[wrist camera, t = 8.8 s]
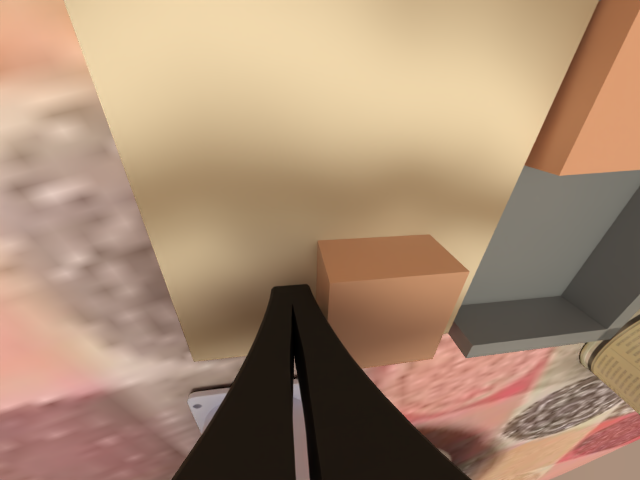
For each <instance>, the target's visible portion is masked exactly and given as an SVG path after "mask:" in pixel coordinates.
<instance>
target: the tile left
mask: <svg viewBox="0 0 640 480" xmlns="http://www.w3.org/2000/svg"><path fill="white" fill-rule="evenodd" d="M469 272H470V271H469V270H468V269H467V268H465V267H464V266H463V265H462V264H461V263H460V262H459V261H458V260H457V259H456V258H455V257H454V256H453V255H451V254H450V253H449V252H448V251H447V250H446V249H445V248H444V247H443V246H442V245H441V244H440V243H439V242H437V241H436V240H435V239H434V238H433V237H432V236H431V235H430V234H427V235H409V236H391V237H373V238H354V239H336V240H319V241H318V243H317V278H316V302H317V304H318V306H319V307H320V309H321V311H322V313H323V315H324V316H325V318H326V320H327V321H328V323H329V324H330V326H331V327H332V329H333V331H334V332H335V334H336V335H337V337H338V338H339V340H340V341H341V342H342V344H343V345H344V347H345V348H346V349H347V351H348V352H349V353H350V355H351V356H352V357H353V359H354V360H355V361H356V363H357V364H358V365H359V366H360V368H361V369H363V368H370V367H377V366H384V365H392V364H399V363H406V362H413V361H421V360H428V359H433V357H434V354H435V352H436V350H437V347H438V345H439V343H440V340H441V338H442V335H443V333H444V331H445V328H446V326H447V324H448V321H449V319H450V317H451V314H452V312H453V310H454V307H455V305H456V303H457V300H458V298H459V296H460V293H461V291H462V289H463V286H464V284H465V282H466V279H467V277H468V275H469Z"/></svg>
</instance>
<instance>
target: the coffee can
mask: <svg viewBox="0 0 640 480" xmlns="http://www.w3.org/2000/svg"><path fill="white" fill-rule="evenodd" d="M580 361H581V364H582V365H583V366H584V367H586V368H587V369H589V370H590V371H591V372H592V373H593V374H595V375H596V376H597V377H598V378H599V379H600V380H601V381H603V382H604V383H605V384H606V385H607V386H608V387H609V388H610V389H612V390H613V391H614V392H615V393H616V394H617V395H618V396H619V397H621V398H622V399H623V400H624V401H625V402H626V403H627V404H628V405H629V406H631V407H632V408H633V409H634V410H635V411H636V412H637V413H638V414H639V415H640V309H639V310H638V311H637V312H636V313H635V314H634V315H633V316H632V317H631V318H630V320H629V321H628V322H627V323H626V324H625V325H624V326H623V327H622V328H621V329H620V330H619V331H618V332H617V333H616V334H615V335H614V336H613V337H612V338H611V339H609V340H601V341H593V342H587V343H586V345H585V346H584V347H583V349H582V351H581V355H580Z"/></svg>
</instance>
